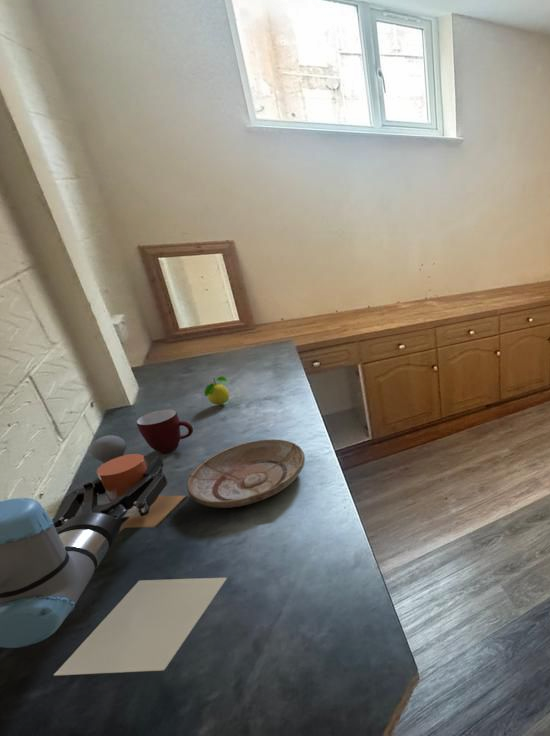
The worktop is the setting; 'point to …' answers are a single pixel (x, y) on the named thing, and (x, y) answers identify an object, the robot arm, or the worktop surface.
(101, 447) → the light bulb
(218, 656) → the worktop surface
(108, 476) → the terracotta cylinder
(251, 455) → the ceramic bowl
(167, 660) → the beige paper sheet
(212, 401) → the lemon
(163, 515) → the cork mat
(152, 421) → the mug
